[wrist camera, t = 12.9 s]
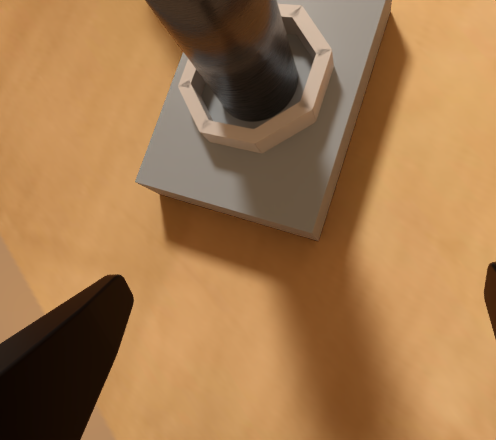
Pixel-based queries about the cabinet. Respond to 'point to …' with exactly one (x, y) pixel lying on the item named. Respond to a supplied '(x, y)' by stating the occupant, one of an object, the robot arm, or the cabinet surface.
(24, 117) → the cabinet surface
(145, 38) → the cabinet surface
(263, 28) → the lens
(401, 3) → the cabinet surface
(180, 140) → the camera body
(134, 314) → the cabinet surface
